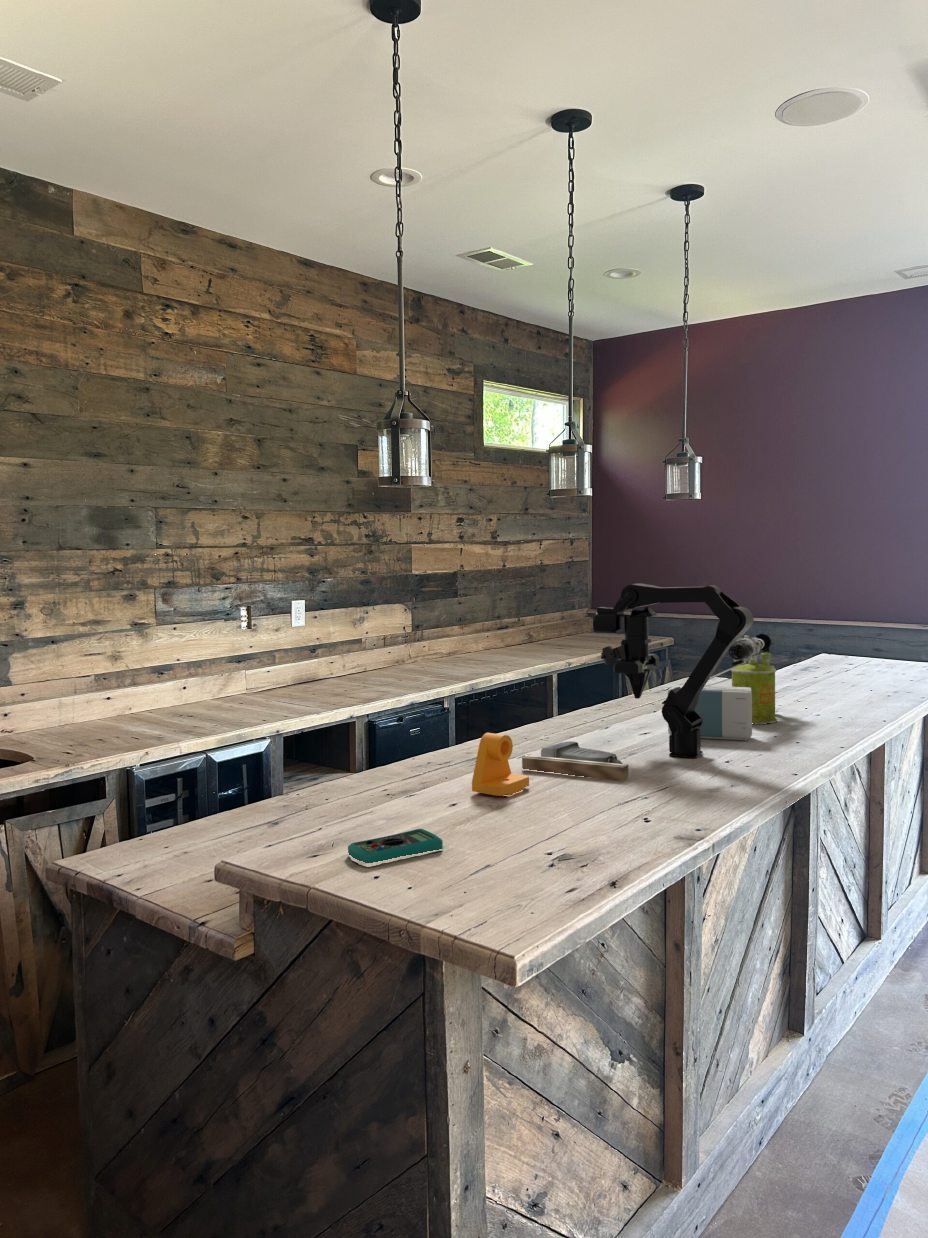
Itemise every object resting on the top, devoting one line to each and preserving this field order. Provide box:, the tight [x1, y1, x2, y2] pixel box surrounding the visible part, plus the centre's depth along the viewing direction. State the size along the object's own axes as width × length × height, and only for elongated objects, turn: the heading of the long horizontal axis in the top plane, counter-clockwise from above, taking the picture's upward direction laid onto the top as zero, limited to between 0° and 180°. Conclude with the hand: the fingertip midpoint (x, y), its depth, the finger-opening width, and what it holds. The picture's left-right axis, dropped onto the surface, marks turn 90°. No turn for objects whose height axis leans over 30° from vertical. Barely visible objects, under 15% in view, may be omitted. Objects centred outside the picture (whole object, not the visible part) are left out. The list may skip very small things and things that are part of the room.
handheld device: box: [540, 741, 623, 764], centre depth 209 cm, size 10×20×5 cm, turn 50°
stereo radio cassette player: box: [667, 661, 753, 742], centre depth 237 cm, size 21×8×20 cm, turn 68°
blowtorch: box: [728, 633, 778, 725], centre depth 258 cm, size 13×33×25 cm, turn 148°
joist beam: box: [521, 754, 629, 782], centre depth 201 cm, size 24×3×3 cm, turn 61°
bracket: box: [471, 732, 530, 797], centre depth 188 cm, size 11×7×12 cm, turn 141°
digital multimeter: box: [347, 828, 444, 863], centre depth 150 cm, size 7×15×3 cm, turn 122°
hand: (637, 698), depth 223 cm, fingers closed
